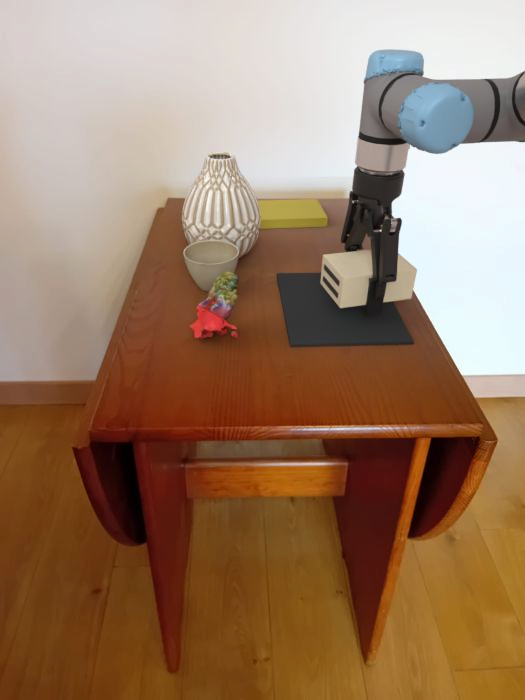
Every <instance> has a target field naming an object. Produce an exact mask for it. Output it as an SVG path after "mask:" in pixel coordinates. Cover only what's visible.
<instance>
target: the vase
mask: <svg viewBox="0 0 525 700" xmlns="http://www.w3.org/2000/svg"><path fill="white" fill-rule="evenodd" d="M182 206H183V207H182V210H181V211H182V212H181V225H182V231H183V235H184V236H185V239H186V241H187V243H188V244H189V245H191V244H193V243H195V242H199V241H204V240H222V241H226V242H230V243H232V244H234V245H235V246H237V247H238V249H239V258H238V260H239V259H240V258H242V257H244V256H245V255H247V254H248V253H249V252H250V251H251V250H252V249H253V247H254V246H255V245H256V242H257V240H258V238H259V236H260V232H261V230H262V229H261V212H260V207H259V204H258V198H257V195H256V193H255V191H254V189H253V188H252V186H251V184H250V182H248V180H247V178H246V177H245V176H244V175H243V173H242V171H241V170H240V168H239V165H238V162H237V159H236V156H235V155H234V154H233V153H231V152H228V151H213V152H210V153H207V154H206V155H205V158H204V162H203V165H202V168H201V170H200V172H199V173H198V175H197V177H195V180H193V182H192V184H191V186H190V188H189V189H188V191H187V193H186V196H185V198H184V202H183V205H182Z"/></svg>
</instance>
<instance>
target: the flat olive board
mask: <svg viewBox="0 0 525 700" xmlns="http://www.w3.org/2000/svg"><path fill="white" fill-rule="evenodd" d="M257 200H258V199H257ZM258 204H259V207H260V212H261V229H260V230H265V229H268V230H269V229H270V230H271V229H296V228H297V229H298V228H325V227H328V221H329V217H328V215H327V214H326V212H325V210H324V209H323V207H322V205H321V204H320V202H319V200H318V199H317V198H302V199H301V198H299V199H266V200H262V199H261V200H258Z"/></svg>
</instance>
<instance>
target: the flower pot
mask: <svg viewBox="0 0 525 700" xmlns="http://www.w3.org/2000/svg"><path fill="white" fill-rule="evenodd" d="M182 254H183V259H184V263H185V265H186V268H187V271H188V273H189V274H190V276H191V278H192V280H193V281H194V283H195V284H196V285H197V287H198V288H199V289H200V290H201V291H203V292H206V293H209V292H210V290H211V288H212V285H213V283H214V282H215V281H216V279H217V278H218V276H219V275H221V274H223V273H224V272H226V271H229V272H231V273H234V274H235V272H236V269H237V266H238V262H239V259H240V258H239V249H238V247H237V246H235V245H234V244H232V243H230V242H226V241H222V240H204V241H199V242H195V243H193V244H191V245H190V244H189V245H187V246H186V247H185V248H184V250H183V253H182ZM238 258H239V259H238Z"/></svg>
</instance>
